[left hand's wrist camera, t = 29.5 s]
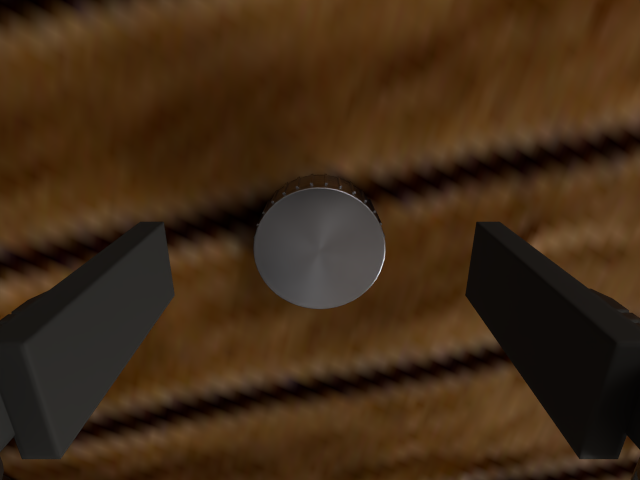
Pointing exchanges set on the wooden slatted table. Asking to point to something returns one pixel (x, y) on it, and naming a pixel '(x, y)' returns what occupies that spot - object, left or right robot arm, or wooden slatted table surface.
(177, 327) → the wooden slatted table surface
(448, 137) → the wooden slatted table surface
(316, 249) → the cap
